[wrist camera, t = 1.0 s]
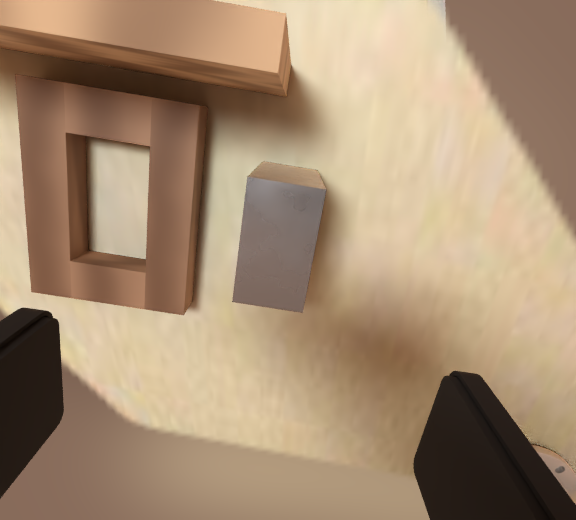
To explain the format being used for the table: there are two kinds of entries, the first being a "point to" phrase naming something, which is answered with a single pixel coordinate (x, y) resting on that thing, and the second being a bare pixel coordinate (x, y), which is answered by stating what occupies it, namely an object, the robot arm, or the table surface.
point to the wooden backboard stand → (128, 131)
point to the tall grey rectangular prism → (278, 236)
